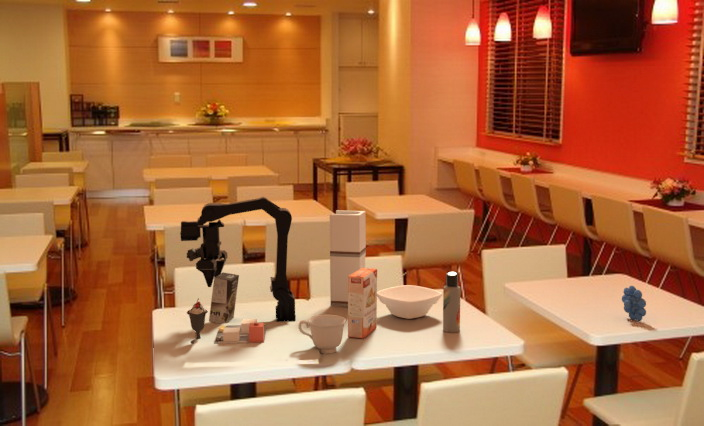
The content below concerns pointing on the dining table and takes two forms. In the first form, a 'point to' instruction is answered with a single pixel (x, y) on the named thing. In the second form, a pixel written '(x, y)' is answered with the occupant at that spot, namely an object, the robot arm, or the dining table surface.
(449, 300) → the lotion bottle
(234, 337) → the block
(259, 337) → the orange rectangular prism
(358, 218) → the white banded column
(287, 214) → the robot arm
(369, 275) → the cracker box
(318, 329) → the teacup
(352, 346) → the dining table surface
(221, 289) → the coffee box
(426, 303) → the bowl
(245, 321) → the block
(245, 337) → the panel
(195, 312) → the sundae
